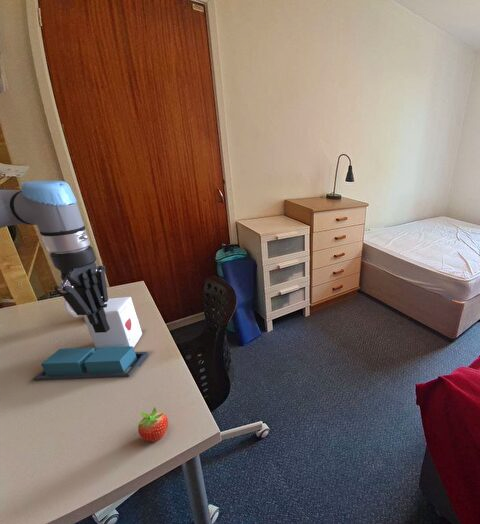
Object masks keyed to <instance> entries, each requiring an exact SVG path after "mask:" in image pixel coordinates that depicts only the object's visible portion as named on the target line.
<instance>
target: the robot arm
mask: <svg viewBox="0 0 480 524" xmlns="http://www.w3.org/2000/svg"><path fill="white" fill-rule="evenodd" d="M20 188H21V190H19V189H0V229H2V228H6V227H9V226H17V225H18V226H19V225H23V226H24V225H28V226H29V225H30V226H31V225H32V226H37V227H36V228H37V229H38V231H39V235H40V236H41V238H42V241H43V243H44V246H45V249H46V251H47V252H49V257H50V260H51V262H52V265H53V267H54V268H55V269H57V270H58V271H60V279H61V280H62V281H61V283H60V285H56V286H54V288H53V289H54V292H56V293H59V295H61V297H63V298H64V301H65V300H66V301H67V302H68V304H69V307H70V309H71V310H72V311H74V312H75V313H76V314H77V315H87V317H88V320H89V322H90V324H92V326H93V328H94V331H95V333H103V332H107V331H108V330H110V327H109V325H108V322H107V319H106V313H105V311H104V308H106V307H107V304H104V303H105V302H107V301H108V299H109V295H108V290H107V289H108V288H107V282H106V275H105V274H106V266H105V265H97V264H96V261H97V256H96V253H95V250H94V248H93V247H92V246H91V244H92V243H91V241H90V238H89V235H88V232H87V230H86V225H85V224H84V221H83V218H82V215H81V211H80V208H79V205H78V200H77V198H76V197H75V195H74V192H73V190H72V188H71V186H70V184H68V182H66V181H64V180H56V179H55V180H54V179H53V180H52V179H51V180H33V181H26V182H23V183H21V184H20Z"/></svg>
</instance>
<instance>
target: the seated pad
mask: <svg viewBox="0 0 480 524" xmlns="http://www.w3.org/2000/svg"><path fill="white" fill-rule="evenodd" d="M95 351H96V348H95V347H72V348H71V347H69V348H59V349H58V350H56V351H55V352H54V353H53V354H51V355H50V356H49V357H48V358H46V359H45V360H44V361H42V362H41V363H40V365H41V367H42V369H43V370H44V371H45V373H46V374H45V376H59V375H83V374H86V372H88V371H87V369H86V367H85V364H84V362H85V361H86V360H87V359H88V358H89V357H90V356H91V355H92V354H93V353H94V352H95Z"/></svg>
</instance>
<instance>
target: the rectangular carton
mask: <svg viewBox="0 0 480 524" xmlns="http://www.w3.org/2000/svg"><path fill="white" fill-rule="evenodd" d="M104 304H107V307H106V308H104V311H105V313H106V319H107V322H108V325H109V327H110V330H108V331H107V332H103V333H95V331H94V328H93V326H92V324H90V322H89V320H88V317H87V315H83V316H82V317H83V319H84V322H85V325H86V326H87V329H88V332H89V335H90V338H91V339H92V342H93V344H94V348H95V351H96V350H97V349H98V348H100V347H125V346H133V348H135V346H136V345H137V344H138V342H139V341H140V338H141V337H142V335H143V332H142V329H141V324H140V323H139V322H140V321H139V318H138V315H137V313H136V309H135V305H134V303H133V299H132V297H131V296H124V297H114V298H108V301H107V302H105V303H104Z"/></svg>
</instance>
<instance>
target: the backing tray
mask: <svg viewBox="0 0 480 524" xmlns="http://www.w3.org/2000/svg"><path fill="white" fill-rule="evenodd" d="M135 354H136V357H137V361H136V362H135V363H134V364H133V365H132V367H130V369H129V370H128V371H127V372H124V373H106V374H89V373H88V374H87V373H84V374H83V375H59V376H47V375H46V373H45V371H44V369H43V370H42V371H40V372H39V373H38V374H37V375H36V376H34V377H33V378H32V380H33V382H38V381H39V382H40V381H62V380H63V381H64V380H65V381H66V380H87V379H108V378H109V379H110V378H129V377H131V376H132V374H133V373H134V372H135V371H136V370H137V368H138V367H141V366H142V365H143V364H144V362H145V361H146V360H147V359H148V358H149V353H148V351H135Z"/></svg>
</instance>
